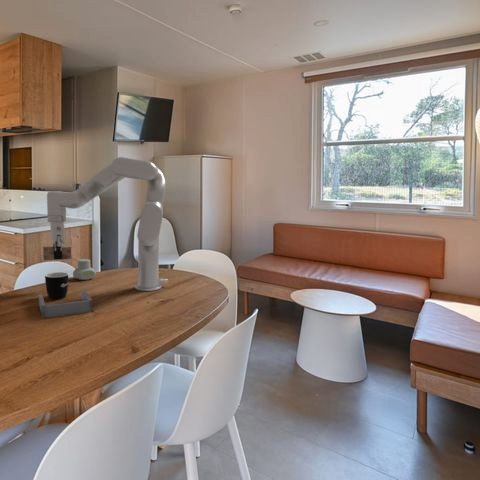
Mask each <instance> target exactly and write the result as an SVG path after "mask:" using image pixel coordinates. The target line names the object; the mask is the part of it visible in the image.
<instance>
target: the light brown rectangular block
mask: <svg viewBox="0 0 480 480" xmlns="http://www.w3.org/2000/svg"><path fill="white" fill-rule="evenodd" d="M54 251H55V247H53V246H43V249H42V252H43V255H42V256H43V260H44V261H56V260H55V259H54ZM71 259H72V246H70V245H63V246H62V259H61V260H71Z"/></svg>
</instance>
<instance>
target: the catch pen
mask: <svg viewBox="0 0 480 480" xmlns="http://www.w3.org/2000/svg"><path fill="white" fill-rule="evenodd" d="M80 292H81V293H80V296H81V300H78V301H70V302H63V303H55V304H53V303H52V304H46V302H45V300H44V297H43V294H42V293H39V294H38V307H39V310H40V313H41V316H42V319H48V318H57V317H64V316H70V315H78V314H86V313H92V312H94V311H93V308H94V307H93V299H92V298H91V296H90V295H89V294H88V292H87V291H86V290H85V289H81V291H80Z"/></svg>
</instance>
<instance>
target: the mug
mask: <svg viewBox="0 0 480 480" xmlns="http://www.w3.org/2000/svg"><path fill="white" fill-rule="evenodd" d="M44 276H45V277H44V282H45V289H46V293H47V297H48V298H49V299H50V300H53V301H54V300H61V299H64V298H65V299H66V297H67V294H68V290H69V289H68V288H69V273H67V272H61V271H60V272H49V273H47V274H45V275H44Z"/></svg>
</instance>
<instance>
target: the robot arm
mask: <svg viewBox="0 0 480 480" xmlns="http://www.w3.org/2000/svg"><path fill="white" fill-rule="evenodd" d="M125 178H127V179H134V180H139V181H140V180H141V181H146V184H147V187H146V193H145V199H144V204H143V206H142V208H141V211H140V217H139V223H138V224H139V225H138V229H137V235H136V237H137V241H138V244H137V245H138V246H137V247H138V251H137V252H138V253H137V254H138V255H137V256H138V257H137V259H138V260H137V261H138V262H137V263H138V265H137V268H138V271H137V272H138V283H137V284H135V285H134V289H135V290H137V291H141V292H154V291H158V290H160V289H161V288H162V287H163V286H162V284H167V283H169V279H168V278H160V277H159V263H160V262H159V259H160V258H159V256H160V255H159V254H160V252H159V251H160V250H159V249H160V247H159V246H160V237H159V236H160V233H161V227H162V222H163V217H164V208H163V207H164V202H165V197H166V196H165V195H166V190H167V189H166V187H167V186H166V183H167V182H166V178H165V176H164V174H163V172H162V171H161V170H160V168H159V167H158V166H156V165H155V164H154V163H153V162H151V161H147V160H141V159H133V158H128V157H123V156H118V157H115V158H114V159H113V160H112V161H111V163H109V164H108V165H106V166H105V167H104V168H102V169H101V170H99V171H97V172H96V173H94V174H93V176H92V177H91V178H90V180H88V182H86V183H85V184H84V185H82V186H80V187H79V188H78V189H76V190H74V191H68V192H67V191H66V192H64V191H60V190H49V191H48V192H47V194H46V207H47V209H46V210H47V211H46V212H47V213H46V214H47V223H50V242H51V243H52V247H55V251H54V259H55V260H54V261H58V260H63V259H62V244H63V245H65V244H66V233H65V232H66V231H65V223H66V222H67V210H66V209H72V210H73V209H78V208H82V207H84V206H85V205H86V204H88V203H90V201H93V200H94V199H95V198H97V197H98V196H99V195H101V194H103V193H105V192H106V191H107V190H109V189H110V188H112V187H113V186H115V185H116V184H117V183H119V182H121V181H122V180H123V179H125Z"/></svg>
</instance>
